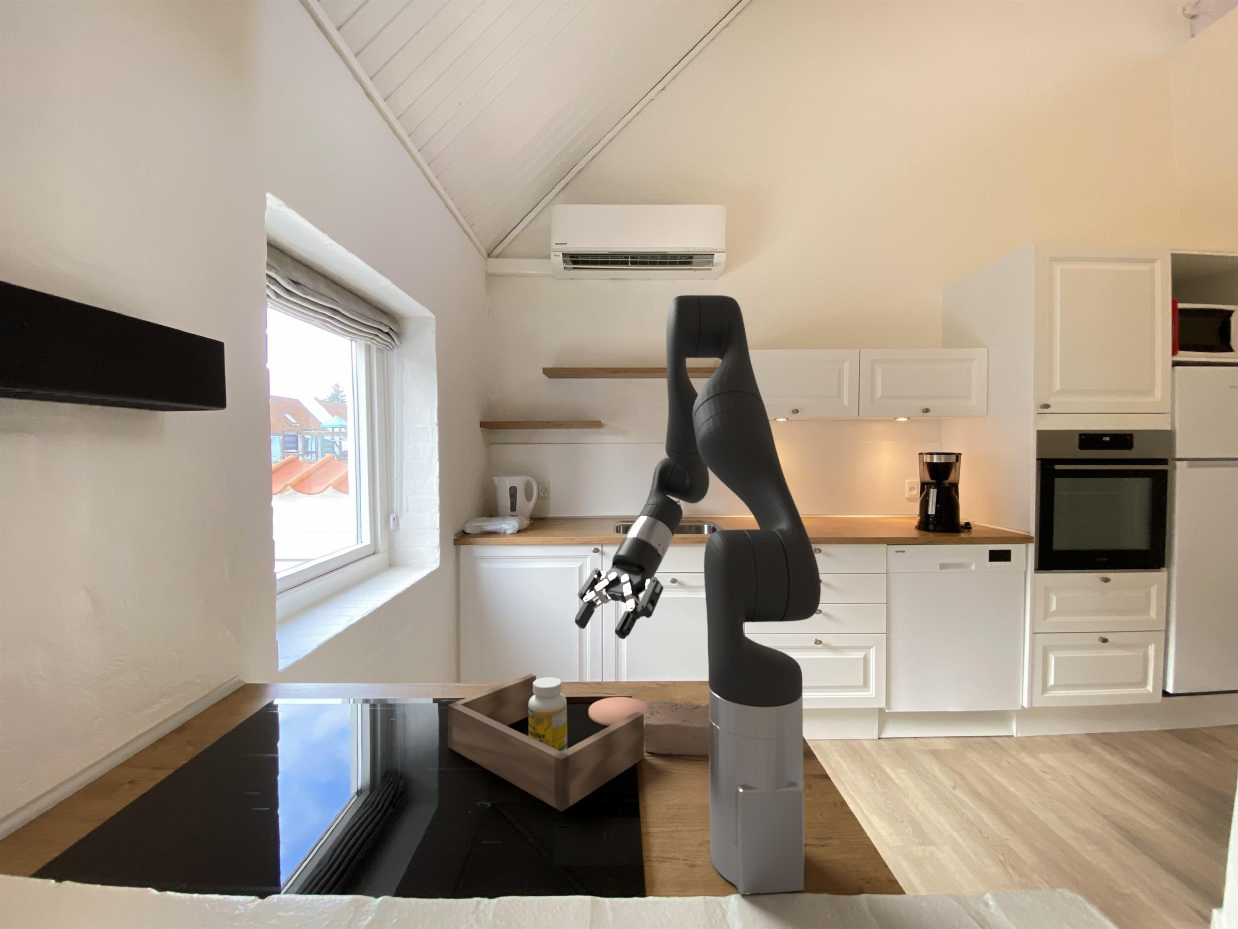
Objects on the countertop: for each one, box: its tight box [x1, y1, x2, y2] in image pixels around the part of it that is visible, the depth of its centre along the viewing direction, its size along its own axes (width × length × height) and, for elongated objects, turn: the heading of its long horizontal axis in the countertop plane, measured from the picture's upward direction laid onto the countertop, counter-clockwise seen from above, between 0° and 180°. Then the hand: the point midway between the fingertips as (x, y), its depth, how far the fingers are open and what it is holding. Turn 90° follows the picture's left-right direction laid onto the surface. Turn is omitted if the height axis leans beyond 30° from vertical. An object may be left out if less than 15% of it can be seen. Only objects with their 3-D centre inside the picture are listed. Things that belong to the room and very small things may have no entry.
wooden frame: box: [447, 673, 645, 812], centre depth 77 cm, size 16×23×6 cm, turn 50°
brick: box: [644, 699, 709, 756], centre depth 80 cm, size 17×8×5 cm, turn 86°
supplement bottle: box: [528, 676, 568, 752], centre depth 78 cm, size 5×5×10 cm
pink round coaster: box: [588, 696, 645, 727], centre depth 90 cm, size 10×10×1 cm
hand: (598, 630), depth 86 cm, fingers open, 8 cm apart
